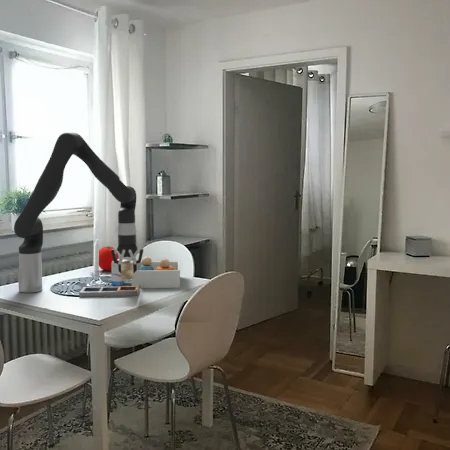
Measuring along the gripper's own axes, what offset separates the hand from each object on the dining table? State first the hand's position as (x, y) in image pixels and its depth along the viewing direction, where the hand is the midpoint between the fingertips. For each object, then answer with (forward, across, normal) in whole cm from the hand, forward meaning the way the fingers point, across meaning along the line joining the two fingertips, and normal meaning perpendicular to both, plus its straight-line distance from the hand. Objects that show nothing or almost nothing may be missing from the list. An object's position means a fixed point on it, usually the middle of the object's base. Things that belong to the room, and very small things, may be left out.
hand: (127, 272), depth 217 cm
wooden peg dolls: (+11, +12, +27) cm, 32 cm away
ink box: (+10, -6, +20) cm, 23 cm away
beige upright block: (+2, 0, 0) cm, 2 cm away
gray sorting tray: (+10, -8, 0) cm, 13 cm away
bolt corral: (+10, +11, +25) cm, 29 cm away
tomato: (+10, -16, +55) cm, 58 cm away
